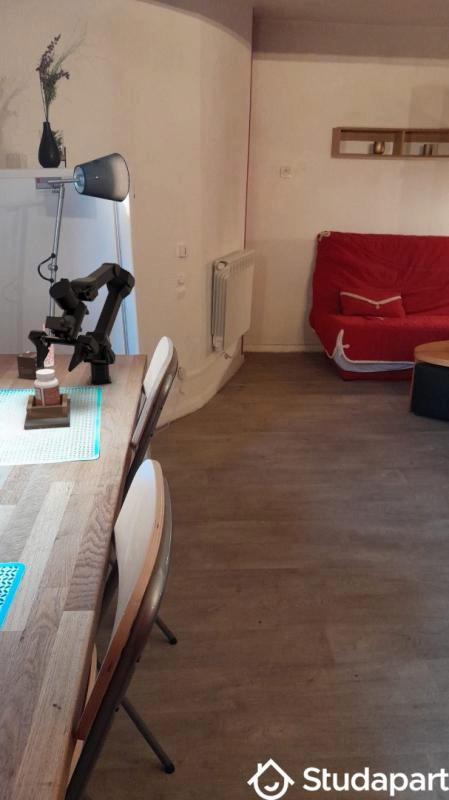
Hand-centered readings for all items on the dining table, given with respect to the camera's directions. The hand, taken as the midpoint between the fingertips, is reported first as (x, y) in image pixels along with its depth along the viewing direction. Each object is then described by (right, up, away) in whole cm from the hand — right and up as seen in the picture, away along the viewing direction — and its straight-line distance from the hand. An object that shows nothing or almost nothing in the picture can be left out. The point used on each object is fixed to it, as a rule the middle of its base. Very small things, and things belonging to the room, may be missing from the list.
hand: (53, 369), depth 149 cm
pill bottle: (-1, -11, 0) cm, 11 cm away
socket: (-1, -12, 0) cm, 12 cm away
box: (-16, -1, +30) cm, 34 cm away
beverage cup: (-15, +4, +41) cm, 44 cm away
